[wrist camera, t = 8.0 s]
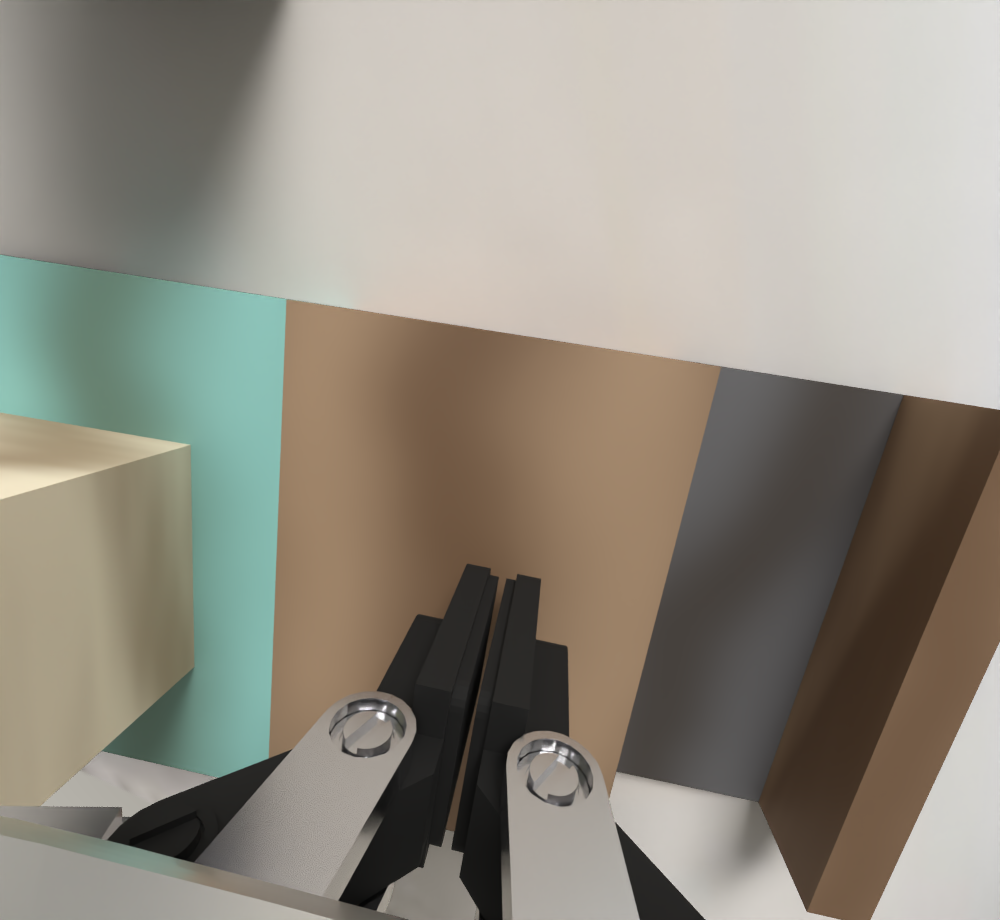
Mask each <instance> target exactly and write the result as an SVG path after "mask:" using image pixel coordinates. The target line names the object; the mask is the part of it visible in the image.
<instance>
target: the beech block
mask: <svg viewBox="0 0 1000 920" xmlns="http://www.w3.org/2000/svg"><path fill="white" fill-rule="evenodd" d="M192 668H194V613H193V555H192V497H191V445H188V444H183V443H177V442H171V441H165V440H159V439H153V438H147V437H141V436H136V435H130V434H124V433H118V432H112V431H106V430H100V429H94V428H89V427H83V426H77V425H71V424H65V423H59V422H53V421H47V420H42V419H36V418H30V417H24V416H18V415H12V414H6V413H1V412H0V806H41V805H42V804H43V803H44V802H45V801H46V800H48V799H49V798H50V797H51V796H52V795H53V794H54V793H55V792H56V791H58V790H59V789H60V788H61V787H62V786H63V785H64V784H65V783H66V782H67V781H69V779H71V778H72V777H73V776H74V775H75V774H76V773H78V772H79V771H80V770H81V769H82V768H83V767H84V766H85V765H86V764H87V763H89V762H90V761H91V760H92V759H93V758H94V757H95V756H96V755H97V754H99V753H100V752H101V751H102V750H103V749H104V748H105V747H106V746H107V745H108V744H110V743H111V742H112V741H113V740H114V739H115V738H116V737H117V736H118V735H120V734H121V733H122V732H123V731H124V730H125V729H126V728H127V727H128V726H129V725H131V724H132V723H133V722H134V721H135V720H136V719H137V718H138V717H139V716H141V715H142V714H143V713H144V712H145V711H146V710H147V709H148V708H149V707H150V706H152V705H153V704H154V703H155V702H156V701H157V700H158V699H159V698H160V697H162V696H163V695H164V694H165V693H166V692H167V691H168V690H169V689H170V688H171V687H173V686H174V685H175V684H176V683H177V682H178V681H179V680H180V679H181V678H183V677H184V676H185V675H186V674H187V673H188V672H189V671H190V670H191V669H192Z"/></svg>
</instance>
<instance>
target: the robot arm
mask: <svg viewBox="0 0 1000 920" xmlns="http://www.w3.org/2000/svg"><path fill="white" fill-rule="evenodd" d="M490 573H491V568H487V567H482V566H477V565H472V564H467V565H466V567H465V569H464V571H463V574H462V576H461V578H460V581H459V583H458V585H457V588H456V590H455V592H454V595H453V597H452V599H451V602H450V604H449V606H448V609H447V611H446V613H445V616H444V618H443V619H440V618H436V617H431V616H426V615H422V614H418V615H417V616H416V617H415V619H414V621H413V623H412V625H411V627H410V628H409V630H408V632H407V634H406V636H405V638H404V640H403V642H402V644H401V645H400V647H399V649H398V651H397V653H396V655H395V657H394V659H393V661H392V662H391V664H390V666H389V668H388V670H387V672H386V674H385V676H384V678H383V679H382V681H381V683H380V685H379V687H378V689H377V691H364V692H360V693H355V694H351V695H348V696H346V697H344V698H342V699H340V700H338V701H337V702H336V703H334V704H333V705H332V706H331V707H330V708H329V709H327V710H326V712H325V713H324V714H323V715H322V716H321V717H320V718H319V720H318V721H317V722H316V723H315V724H314V725H313V726H312V728H311V729H310V730H309V731H308V732H307V733H306V734H305V736H304V737H303V738H302V739H301V740H300V741H299V742H298V744H297V745H296V746H295V747H294V748H293V749H291V750H289V751H286V752H284V753H281V754H279V755H276V756H273V757H271V758H268V759H266V760H263V761H261V762H258V763H255V764H253V765H250V766H248V767H245V768H243V769H240V770H237V771H235V772H232V773H230V774H227V775H225V776H222V777H219V778H217V779H214V780H212V781H209V782H206V783H204V784H201V785H199V786H196V787H194V788H191V789H188V790H186V791H183V792H181V793H178V794H176V795H173V796H170V797H168V798H165V799H163V800H160V801H158V802H156V803H154V804H152V805H150V806H148V807H147V808H144V809H142V810H140V811H139V812H138V813H136V814H135V815H133V816H132V817H122V807H48V806H0V920H408V919H404V918H400V917H397V916H393V915H389V914H386V913H385V911H386V909H387V906H388V904H389V902H390V899H391V896H392V892H393V889H394V885H395V881H397V880H398V879H400V878H401V877H403V876H405V875H406V874H408V873H409V872H411V871H413V870H414V869H416V868H417V867H421V868H423V867H424V863H425V859H426V856H427V852H428V848H429V844H431V845H435V846H439V847H441V846H442V842H443V838H444V834H445V830H446V826H447V822H448V817H449V813H450V809H451V805H452V801H453V796H454V792H455V788H456V784H457V780H458V776H459V771H460V767H461V763H462V759H463V755H464V750H465V746H466V742H467V738H468V734H469V730H470V725H471V721H472V717H473V713H474V709H475V704H476V700H477V696H478V692H479V687H480V682H481V676H482V671H483V665H484V659H485V654H486V648H487V643H488V637H489V631H490V626H491V620H492V614H493V609H494V603H495V597H496V592H497V586H498V580H499V577H498V576H493V575H490ZM540 587H541V579H540V578H535V577H530V576H525V575H521V574H517V578H516V580H513V579H508V578H506V583H505V587H504V591H503V595H502V600H501V604H500V608H499V612H498V617H497V621H496V625H495V629H494V634H493V638H492V642H491V646H490V651H489V655H488V659H487V663H486V667H485V672H484V676H483V680H482V684H481V689H480V694H479V698H478V703H477V708H476V714H475V719H474V725H473V730H472V736H471V742H470V747H469V753H468V758H467V764H466V770H465V775H464V781H463V786H462V792H461V798H460V803H459V809H458V815H457V820H456V826H455V831H454V837H453V843H452V849H451V850H455V851H459V852H463V853H464V855H463V860H462V866H461V871H460V876H459V878H460V879H461V880H462V882H463V884H464V886H465V887H466V889H467V891H468V892H469V894H470V896H471V897H472V899H473V901H474V902H475V904H476V906H477V907H476V913H475V919H474V920H705V919H704V918H703V917H702V916H701V915H700V914H699V912H698V911H697V910H696V909H695V908H694V907H693V906H692V905H691V904H690V903H689V902H688V901H687V899H686V898H685V897H684V896H683V895H682V894H681V893H680V892H679V891H678V890H677V889H676V888H675V886H674V885H673V884H672V883H671V882H670V881H669V880H668V879H667V878H666V877H665V876H664V875H663V873H662V872H661V871H660V870H659V869H658V868H657V867H656V866H655V865H654V864H653V863H652V862H651V860H650V859H649V858H648V857H647V856H646V855H645V854H644V853H643V852H642V851H641V850H640V849H639V847H638V846H637V845H636V844H635V843H634V842H633V841H632V840H631V839H630V838H629V837H628V836H627V834H626V833H625V832H624V831H623V830H622V829H621V828H620V827H619V826H618V825H617V824H616V823H615V821H614V817H613V813H612V809H611V805H610V801H609V797H608V793H607V789H606V785H605V782H604V778H603V774H602V772H601V770H600V767H599V765H598V762H597V761H596V760H595V758H594V757H593V756H592V755H591V753H590V752H589V751H588V750H587V749H586V748H585V747H583V746H582V745H581V744H580V743H578V742H577V741H576V740H574V739H572V738H570V737H569V683H568V647H567V646H565V645H560V644H555V643H551V642H546V641H542V640H537V639H536V631H537V620H538V609H539V598H540Z"/></svg>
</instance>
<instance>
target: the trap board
mask: <svg viewBox="0 0 1000 920" xmlns="http://www.w3.org/2000/svg"><path fill="white" fill-rule="evenodd" d="M0 412H1V413H6V414H12V415H18V416H24V417H30V418H36V419H42V420H47V421H53V422H59V423H65V424H71V425H77V426H83V427H89V428H94V429H100V430H106V431H112V432H118V433H124V434H130V435H136V436H141V437H147V438H153V439H159V440H165V441H171V442H177V443H183V444H188V445H191V497H192V555H193V613H194V668H192V669H191V670H190V671H189V672H188V673H187V674H186V675H185V676H184V677H183V678H181V679H180V680H179V681H178V682H177V683H176V684H175V685H174V686H173V687H171V688H170V689H169V690H168V691H167V692H166V693H165V694H164V695H163V696H162V697H160V698H159V699H158V700H157V701H156V702H155V703H154V704H153V705H152V706H150V707H149V708H148V709H147V710H146V711H145V712H144V713H143V714H142V715H141V716H139V717H138V718H137V719H136V720H135V721H134V722H133V723H132V724H131V725H129V726H128V727H127V728H126V729H125V730H124V731H123V732H122V733H121V734H120V735H118V736H117V737H116V738H115V739H114V740H113V741H112V742H111V743H110V744H108V745H107V746H106V747H105V748H104V749H103V750H102V751H104V752H108V753H113V754H117V755H122V756H126V757H130V758H135V759H139V760H144V761H148V762H152V763H157V764H161V765H165V766H170V767H174V768H179V769H183V770H187V771H192V772H196V773H201V774H205V775H209V776H214V777H218V778H219V777H222V776H225V775H227V774H230V773H232V772H235V771H237V770H240V769H243V768H245V767H248V766H250V765H253V764H255V763H258V762H261V761H263V760H266V759H268V758H271V757H273V756H276V755H279V754H281V753H284V752H286V751H289V750H291V749H293V748H294V747H295V746H296V745H297V744H298V742H299V741H300V740H301V739H302V738H303V737H304V736H305V734H306V733H307V732H308V731H309V730H310V729H311V728H312V726H313V725H314V724H315V723H316V722H317V721H318V720H319V718H320V717H321V716H322V715H323V714H324V713H325V712H326V710H327V709H329V708H330V707H331V706H332V705H333V704H334V703H336V702H337V701H338V700H340V699H342V698H344V697H346V696H348V695H351V694H355V693H360V692H364V691H377V689H378V687H379V685H380V683H381V681H382V679H383V678H384V676H385V674H386V672H387V670H388V668H389V666H390V664H391V662H392V661H393V659H394V657H395V655H396V653H397V651H398V649H399V647H400V645H401V644H402V642H403V640H404V638H405V636H406V634H407V632H408V630H409V628H410V627H411V625H412V623H413V621H414V619H415V617H416V616H417V615H418V614H422V615H426V616H431V617H436V618H440V619H443V618H444V616H445V613H446V611H447V609H448V606H449V604H450V602H451V599H452V597H453V595H454V592H455V590H456V588H457V585H458V583H459V581H460V578H461V576H462V574H463V571H464V569H465V567H466V565H467V564H472V565H477V566H482V567H487V568H491V573H490V575H493V576H498V577H499V580H498V586H497V592H496V597H495V603H494V609H493V614H492V620H491V626H490V631H489V637H488V643H487V648H486V654H485V659H484V665H483V671H482V676H481V682H480V687H479V692H478V696H477V700H476V704H475V709H474V713H473V717H472V721H471V725H470V730H469V734H468V738H467V742H466V746H465V750H464V755H463V759H462V763H461V767H460V771H459V776H458V780H457V784H456V788H455V792H454V796H453V801H452V805H451V809H450V813H449V817H448V822H447V826H446V830H450V831H455V826H456V820H457V815H458V809H459V803H460V798H461V792H462V786H463V781H464V775H465V770H466V764H467V758H468V753H469V747H470V742H471V736H472V730H473V725H474V719H475V714H476V708H477V703H478V698H479V694H480V689H481V684H482V680H483V676H484V672H485V667H486V663H487V659H488V655H489V651H490V646H491V642H492V638H493V634H494V629H495V625H496V621H497V617H498V612H499V608H500V604H501V600H502V595H503V591H504V587H505V583H506V578H508V579H513V580H516V578H517V574H521V575H525V576H530V577H535V578H540V579H541V587H540V598H539V609H538V620H537V631H536V639H537V640H542V641H546V642H551V643H555V644H560V645H565V646H567V647H568V683H569V737H570V738H572V739H574V740H576V741H577V742H578V743H580V744H581V745H582V746H583V747H585V748H586V749H587V750H588V751H589V752H590V753H591V755H592V756H593V757H594V758H595V760H596V761H597V762H598V765H599V767H600V770H601V772H602V774H603V778H604V782H605V785H606V789H607V793H608V797H610V793H611V790H612V786H613V782H614V778H615V774H616V771H617V772H622V773H626V774H631V775H636V776H640V777H645V778H649V779H654V780H659V781H663V782H668V783H673V784H677V785H682V786H687V787H691V788H696V789H701V790H705V791H710V792H715V793H719V794H724V795H729V796H733V797H738V798H743V799H747V800H752V801H757V802H759V804H760V806H761V809H762V811H763V813H764V815H765V818H766V820H767V822H768V825H769V827H770V829H771V831H772V834H773V836H774V838H775V840H776V843H777V845H778V847H779V850H780V852H781V854H782V856H783V859H784V861H785V863H786V865H787V868H788V870H789V872H790V875H791V877H792V879H793V881H794V884H795V886H796V888H797V891H798V893H799V895H800V897H801V900H802V902H803V904H804V906H805V909H806V911H807V912H810V913H814V914H819V915H823V916H827V917H832V918H836V919H841V920H870V919H871V917H872V915H873V913H874V911H875V909H876V907H877V904H878V902H879V900H880V898H881V896H882V894H883V891H884V889H885V887H886V885H887V883H888V881H889V879H890V876H891V874H892V872H893V870H894V868H895V866H896V864H897V861H898V859H899V857H900V855H901V853H902V851H903V848H904V846H905V844H906V842H907V840H908V838H909V836H910V833H911V831H912V829H913V827H914V825H915V823H916V821H917V818H918V816H919V814H920V812H921V810H922V808H923V805H924V803H925V801H926V799H927V797H928V795H929V793H930V790H931V788H932V786H933V784H934V782H935V780H936V777H937V775H938V773H939V771H940V769H941V767H942V765H943V762H944V760H945V758H946V756H947V754H948V752H949V750H950V747H951V745H952V743H953V741H954V739H955V737H956V734H957V732H958V730H959V728H960V726H961V724H962V722H963V719H964V717H965V715H966V713H967V711H968V709H969V706H970V704H971V702H972V700H973V698H974V696H975V694H976V691H977V689H978V687H979V685H980V683H981V681H982V679H983V676H984V674H985V672H986V670H987V668H988V666H989V663H990V661H991V659H992V657H993V655H994V653H995V651H996V648H997V646H998V644H999V642H1000V410H997V409H990V408H984V407H978V406H971V405H965V404H959V403H952V402H946V401H939V400H933V399H926V398H920V397H914V396H907V395H901V394H894V393H888V392H881V391H875V390H869V389H862V388H856V387H849V386H843V385H836V384H830V383H823V382H817V381H811V380H804V379H798V378H791V377H785V376H778V375H772V374H766V373H759V372H753V371H746V370H740V369H733V368H727V367H720V366H714V365H708V364H701V363H695V362H688V361H682V360H675V359H669V358H663V357H656V356H650V355H643V354H637V353H630V352H624V351H617V350H611V349H605V348H598V347H592V346H585V345H579V344H572V343H566V342H560V341H553V340H547V339H540V338H534V337H527V336H521V335H514V334H508V333H502V332H495V331H489V330H482V329H476V328H469V327H463V326H457V325H450V324H444V323H437V322H431V321H424V320H418V319H411V318H405V317H399V316H392V315H386V314H379V313H373V312H366V311H360V310H354V309H347V308H341V307H334V306H328V305H321V304H315V303H308V302H302V301H296V300H289V299H283V298H276V297H270V296H263V295H257V294H250V293H244V292H238V291H231V290H225V289H218V288H212V287H205V286H199V285H193V284H186V283H180V282H173V281H167V280H160V279H154V278H147V277H141V276H135V275H128V274H122V273H115V272H109V271H102V270H96V269H90V268H83V267H77V266H70V265H64V264H57V263H51V262H44V261H38V260H32V259H25V258H19V257H12V256H6V255H0Z"/></svg>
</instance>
